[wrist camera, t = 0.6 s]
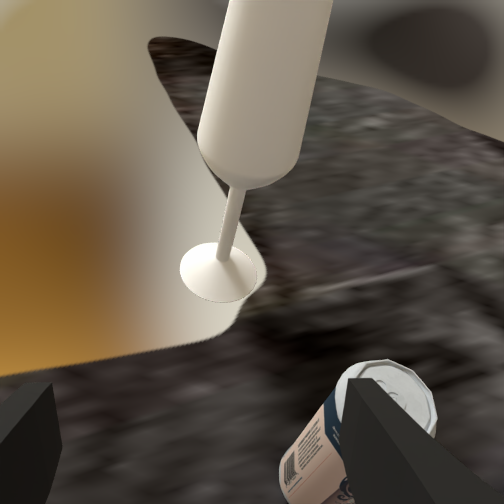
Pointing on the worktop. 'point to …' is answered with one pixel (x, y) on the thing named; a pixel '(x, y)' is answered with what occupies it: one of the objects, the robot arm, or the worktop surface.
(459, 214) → the worktop surface
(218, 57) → the champagne flute
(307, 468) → the beige capped bottle
